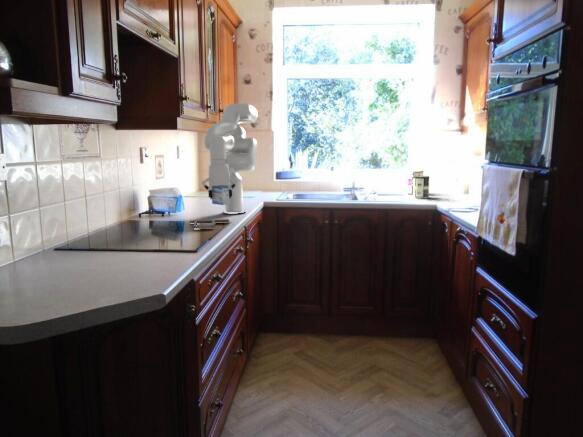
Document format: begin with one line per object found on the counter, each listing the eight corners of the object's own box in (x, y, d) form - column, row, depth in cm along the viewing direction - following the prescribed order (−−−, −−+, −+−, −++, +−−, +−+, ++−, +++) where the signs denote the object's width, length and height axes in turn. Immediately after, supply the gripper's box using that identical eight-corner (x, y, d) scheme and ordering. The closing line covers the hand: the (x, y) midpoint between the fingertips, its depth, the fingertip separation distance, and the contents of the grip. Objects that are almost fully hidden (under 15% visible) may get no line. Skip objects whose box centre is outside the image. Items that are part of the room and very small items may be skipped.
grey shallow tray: (195, 225, 207) (195, 220, 207) (214, 224, 208) (214, 220, 208) (193, 230, 194) (192, 226, 194) (214, 229, 196) (213, 225, 195)
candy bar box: (412, 194, 313) (413, 171, 310) (406, 194, 317) (407, 170, 314) (422, 193, 319) (423, 170, 317) (417, 192, 323) (417, 170, 321)
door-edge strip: (190, 224, 208) (189, 220, 208) (229, 223, 211) (228, 219, 210) (189, 225, 207) (189, 220, 207) (229, 223, 210) (228, 219, 209)
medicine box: (211, 203, 218) (210, 186, 216) (218, 202, 221) (217, 184, 219) (223, 205, 213) (222, 187, 211) (229, 203, 216) (228, 186, 214)
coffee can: (426, 196, 302) (426, 175, 300) (430, 198, 292) (431, 176, 289) (410, 196, 302) (411, 175, 300) (414, 198, 292) (415, 176, 290)
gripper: (236, 160, 217) (238, 196, 221) (200, 162, 215) (202, 197, 219) (237, 162, 210) (238, 198, 214) (199, 163, 208) (201, 200, 212)
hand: (220, 198), depth 216 cm, fingers closed on medicine box, 8 cm apart
